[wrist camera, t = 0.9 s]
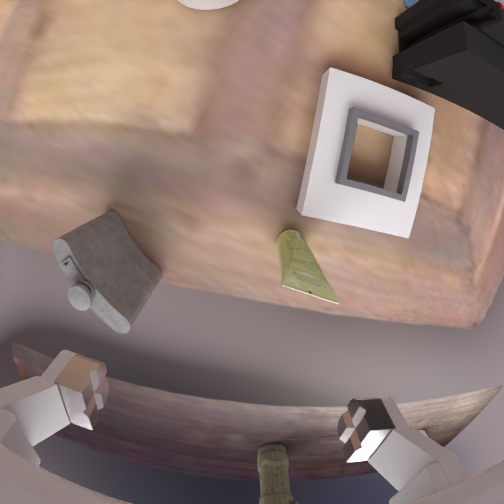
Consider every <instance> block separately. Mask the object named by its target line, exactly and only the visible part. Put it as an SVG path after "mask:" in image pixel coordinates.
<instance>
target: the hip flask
mask: <svg viewBox="0 0 504 504" xmlns="http://www.w3.org/2000/svg"><path fill="white" fill-rule="evenodd" d="M52 248H53V253H54V255H55V257H56V259H57V261H58V263H59V265H60V267H61V268H62V270H63V272H64V273H65V275H66V277H67V278H68V279H69V281H70V283H71V284H72V286H71V287H70V288H69V290H68V299H69V301H70V303H71V304H72V306H73V307H75V308H76V309H78V310H80V311H85V310H87V309H88V308H89V307H90V308H91V309H92V310H93V311H94V312H95V313H96V314H97V315H98V316H99V317H100V318H101V319H102V320H103V321H104V322H105V323H106V324H107V325H109V326H110V327H111V328H112V329H113V330H114V331H116V332H117V333H120V334H126V333H128V332H129V331H130V329H131V327H132V325H133V324H134V322H135V320H136V318H137V317H138V315H139V314H140V312H141V310H142V309H143V307H144V305H145V304H146V302H147V300H148V299H149V297H150V295H151V294H152V292H153V290H154V289H155V287H156V286H157V284H158V283H159V281H160V279H161V278H162V272H161V270H160V269H159V268H158V267H157V266H156V265H155V264H154V263H152V262H151V261H150V260H149V259H148V257H147V256H146V255H145V254H144V253H143V252H142V251H141V249H140V248H139V247H138V245H137V244H136V243H135V241H134V240H133V239H132V237H131V236H130V234H129V233H128V231H127V229H126V228H125V226H124V224H123V222H122V220H121V218H120V216H119V214H118V213H117V212H116V211H109V212H107V213H105V214H103V215H101V216H99V217H97V218H95V219H93V220H91V221H89V222H87V223H85V224H84V225H82V226H80V227H78V228H76V229H74V230H72V231H70V232H69V233H67V234H65V235H63V236H61V237H59V238H58V239H56V240H55V241H54V242H53V247H52Z"/></svg>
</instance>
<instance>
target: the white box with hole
mask: <svg viewBox="0 0 504 504" xmlns="http://www.w3.org/2000/svg"><path fill="white" fill-rule="evenodd" d="M434 114H435V108H433V107H431V106H429V105H427V104H425V103H423V102H421V101H419V100H417V99H414V98H412V97H410V96H408V95H406V94H403V93H401V92H399V91H396V90H394V89H391V88H389V87H386V86H384V85H381V84H379V83H376V82H373V81H371V80H368V79H365V78H362V77H359V76H356V75H353V74H350V73H347V72H344V71H341V70H338V69H334V68H331V67H330V68H329V69H328V70H327V71H326V72H325V73H324V74H323V75H322V79H321V85H320V91H319V96H318V102H317V107H316V113H315V118H314V124H313V129H312V134H311V139H310V145H309V150H308V155H307V160H306V165H305V170H304V175H303V180H302V184H301V189H300V194H299V199H298V203H297V208H296V209H297V210H298V212H299V213H300V214H301V215H303V216H308V217H313V218H318V219H323V220H328V221H333V222H338V223H342V224H347V225H352V226H356V227H361V228H366V229H370V230H374V231H379V232H383V233H388V234H392V235H396V236H400V237H405V238H409V235H410V232H411V228H412V225H413V221H414V217H415V214H416V210H417V206H418V202H419V198H420V193H421V189H422V185H423V180H424V175H425V170H426V165H427V160H428V154H429V149H430V142H431V136H432V129H433V122H434ZM357 124H360V125H363V126H366V127H369V128H372V129H375V130H378V131H381V132H384V133H386V134H389V135H392V136H394V138H393V143H392V149H391V154H390V159H389V164H388V169H387V174H386V179H385V183H384V188H383V189H382V188H379V187H375V186H372V185H368V184H365V183H361V182H357V181H354V180H350V179H346V178H347V173H348V168H349V164H350V159H351V154H352V149H353V143H354V138H355V133H356V127H357Z"/></svg>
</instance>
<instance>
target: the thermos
mask: <svg viewBox="0 0 504 504" xmlns="http://www.w3.org/2000/svg"><path fill="white" fill-rule="evenodd" d="M257 451H258V456H257V464H258V471H259V473H260V487H261V497H260V499H259V501H260V502H259V504H298V502H297V501H293V497H292V496H291V494H290V487H289V477H288V468H289V461H288V455H287V452H286V447H285V446H284V445H282V444H277V443H271V444H266V445H263V446H261V447H259V448H258V450H257Z"/></svg>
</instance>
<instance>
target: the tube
mask: <svg viewBox="0 0 504 504" xmlns="http://www.w3.org/2000/svg"><path fill="white" fill-rule="evenodd" d="M276 246H277V251H278V255H279V260H280V267H281V285H282V286H284V287H288V288H291V289H294V290H297V291H300V292H303V293H306V294H309V295H312V296H315V297H318V298H321V299H324V300H327V301H330V302H333V303H336V304H340V303H339V301H338V299H337V297H336V295H335V294H334V292H333V290H332V288H331V286H330V284H329V282H328V280H327V279H326V277H325V275H324V273H323V271H322V270H321V268H320V266H319V264H318V262H317V260H316V259H315V257H314V255H313V253H312V252H311V250H310V248H309V246H308V245H307V243H306V241H305V239H304V238H303V236H302V235H301V234H300V233H299V232H298V231H295V230H286V231H284V232H282V233H281V234H280V235H279V237H278V239H277V242H276Z"/></svg>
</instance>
